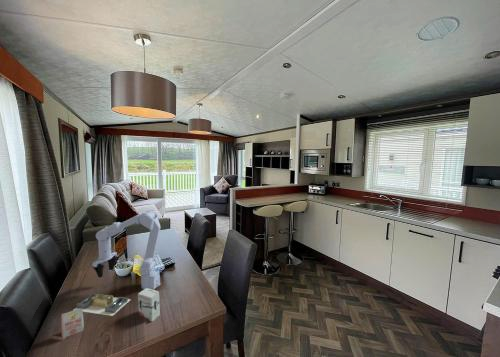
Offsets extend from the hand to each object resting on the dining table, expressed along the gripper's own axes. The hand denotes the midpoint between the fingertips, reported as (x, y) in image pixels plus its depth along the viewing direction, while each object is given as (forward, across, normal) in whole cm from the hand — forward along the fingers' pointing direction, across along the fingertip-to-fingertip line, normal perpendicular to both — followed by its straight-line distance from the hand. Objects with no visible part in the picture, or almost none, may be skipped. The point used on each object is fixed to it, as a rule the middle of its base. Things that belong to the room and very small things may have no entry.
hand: (106, 273), depth 121 cm
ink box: (+10, +15, +37) cm, 41 cm away
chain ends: (+8, +13, +10) cm, 18 cm away
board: (+9, +13, +10) cm, 19 cm away
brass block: (+8, +13, +10) cm, 18 cm away
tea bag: (+10, +30, +12) cm, 34 cm away
